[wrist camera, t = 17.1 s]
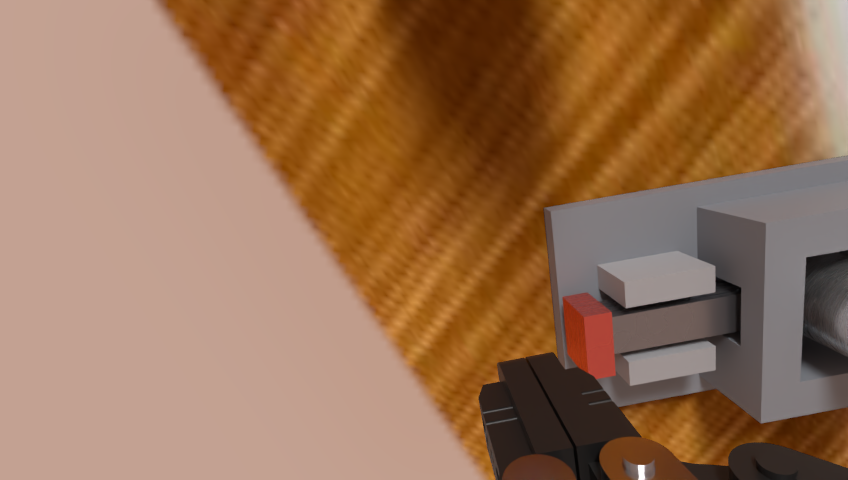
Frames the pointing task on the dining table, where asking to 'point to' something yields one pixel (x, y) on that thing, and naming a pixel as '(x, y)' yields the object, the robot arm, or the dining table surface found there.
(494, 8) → the dining table surface
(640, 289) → the mount
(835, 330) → the salt shaker
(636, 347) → the lock pin
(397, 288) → the dining table surface
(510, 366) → the robot arm
